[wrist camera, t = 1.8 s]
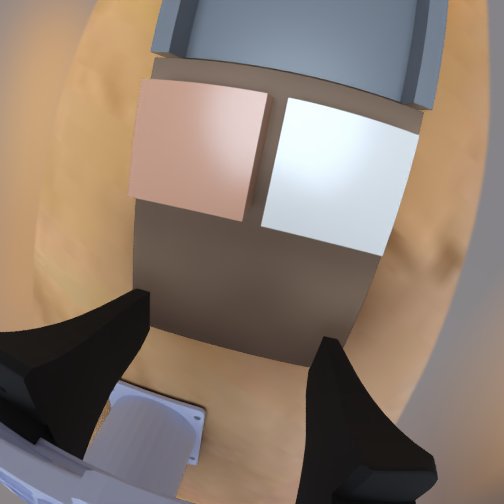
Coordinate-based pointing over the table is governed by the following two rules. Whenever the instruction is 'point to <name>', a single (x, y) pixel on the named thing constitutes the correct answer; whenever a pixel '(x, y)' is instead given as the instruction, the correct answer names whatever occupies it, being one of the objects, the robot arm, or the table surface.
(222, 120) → the tile terracotta
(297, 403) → the table surface
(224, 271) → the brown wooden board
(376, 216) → the tile cream
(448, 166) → the table surface
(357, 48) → the tray
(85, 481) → the robot arm
